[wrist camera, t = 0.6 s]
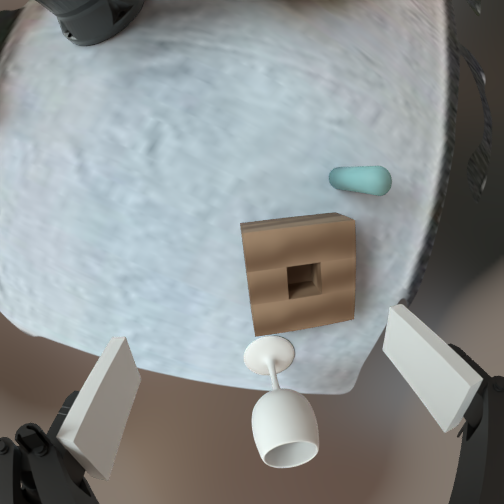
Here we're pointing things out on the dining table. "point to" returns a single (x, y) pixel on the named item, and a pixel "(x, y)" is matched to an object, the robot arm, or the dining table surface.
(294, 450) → the wineglass
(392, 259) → the dining table surface
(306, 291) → the socket block
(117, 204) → the dining table surface
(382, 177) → the dowel
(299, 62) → the dining table surface
